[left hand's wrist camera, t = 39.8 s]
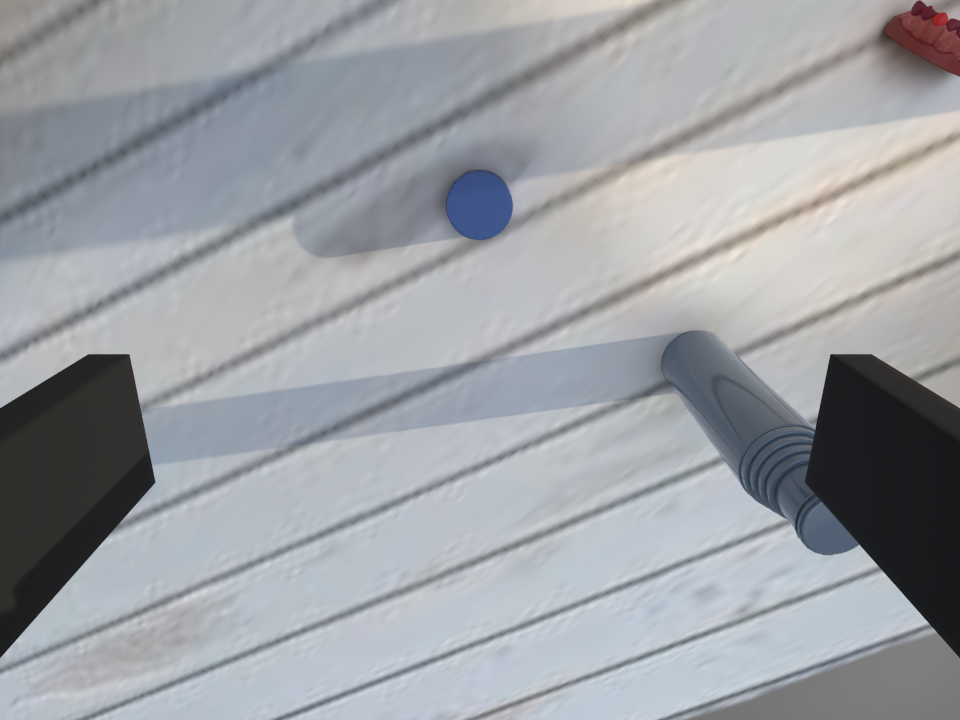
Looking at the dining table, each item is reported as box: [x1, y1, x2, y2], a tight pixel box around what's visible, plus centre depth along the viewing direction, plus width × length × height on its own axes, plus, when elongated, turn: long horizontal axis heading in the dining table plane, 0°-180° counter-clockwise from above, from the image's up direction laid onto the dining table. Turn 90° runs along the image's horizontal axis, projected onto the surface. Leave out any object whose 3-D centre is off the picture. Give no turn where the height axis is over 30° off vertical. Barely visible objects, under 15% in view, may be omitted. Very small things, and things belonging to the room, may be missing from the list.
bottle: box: [662, 331, 859, 555], centre depth 38 cm, size 5×5×20 cm
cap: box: [446, 170, 513, 240], centre depth 43 cm, size 4×4×2 cm
